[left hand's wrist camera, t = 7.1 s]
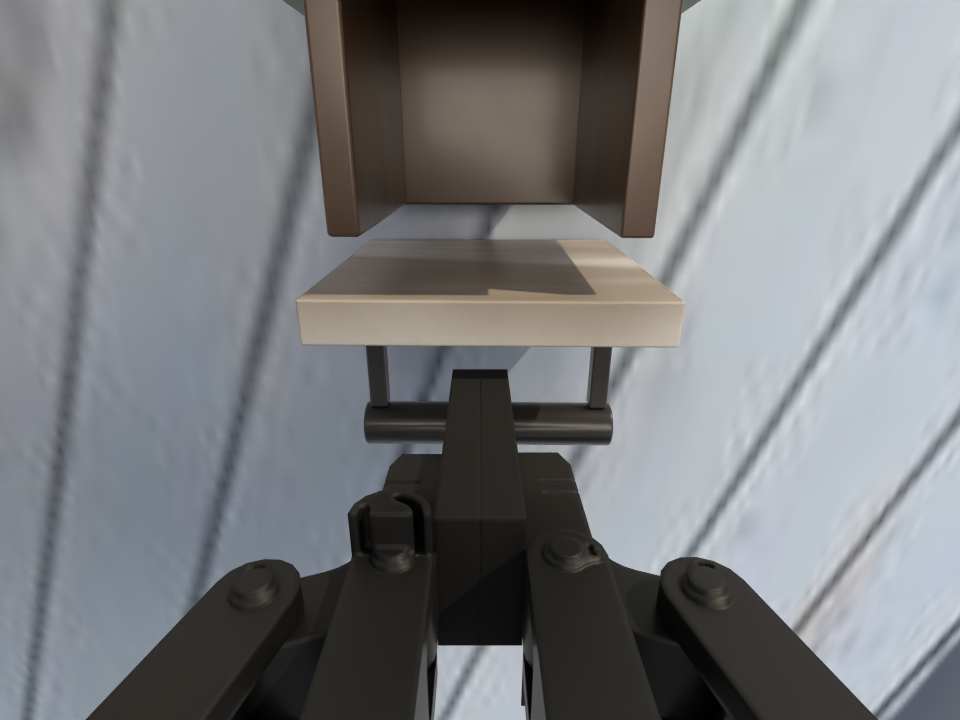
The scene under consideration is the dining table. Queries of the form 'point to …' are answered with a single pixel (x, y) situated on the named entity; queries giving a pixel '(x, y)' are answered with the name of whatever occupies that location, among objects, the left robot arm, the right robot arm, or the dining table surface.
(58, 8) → the dining table surface
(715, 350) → the dining table surface
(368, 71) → the drawer
